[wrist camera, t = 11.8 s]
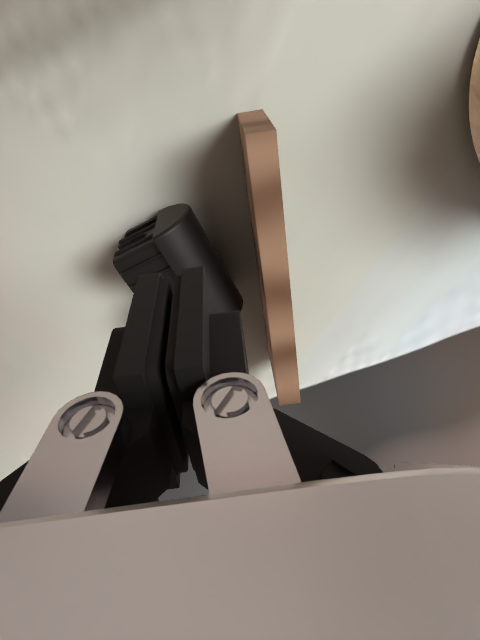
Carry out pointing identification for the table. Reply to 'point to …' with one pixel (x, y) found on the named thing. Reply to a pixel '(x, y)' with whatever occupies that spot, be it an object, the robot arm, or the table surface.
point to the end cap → (175, 254)
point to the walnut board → (270, 248)
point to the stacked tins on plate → (475, 102)
